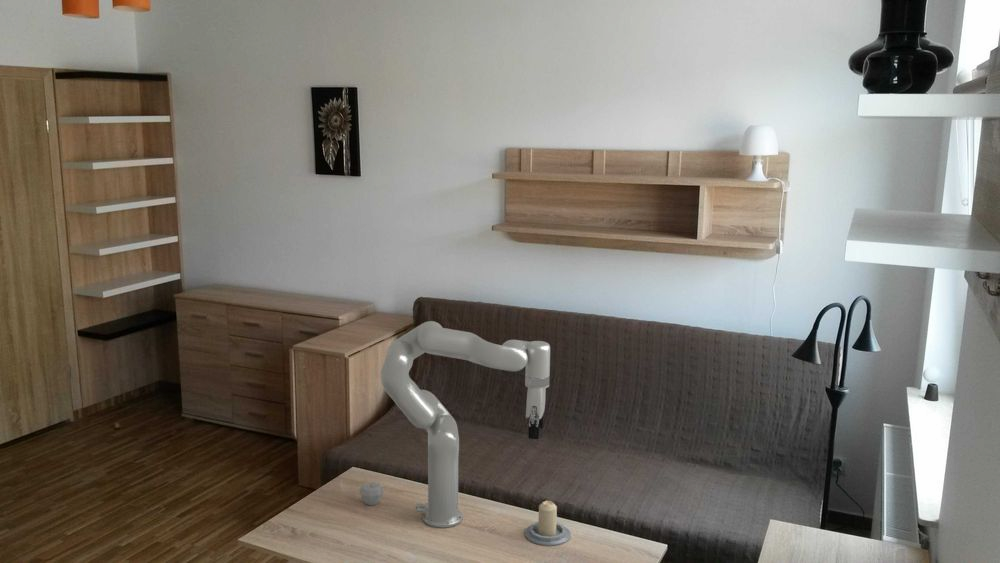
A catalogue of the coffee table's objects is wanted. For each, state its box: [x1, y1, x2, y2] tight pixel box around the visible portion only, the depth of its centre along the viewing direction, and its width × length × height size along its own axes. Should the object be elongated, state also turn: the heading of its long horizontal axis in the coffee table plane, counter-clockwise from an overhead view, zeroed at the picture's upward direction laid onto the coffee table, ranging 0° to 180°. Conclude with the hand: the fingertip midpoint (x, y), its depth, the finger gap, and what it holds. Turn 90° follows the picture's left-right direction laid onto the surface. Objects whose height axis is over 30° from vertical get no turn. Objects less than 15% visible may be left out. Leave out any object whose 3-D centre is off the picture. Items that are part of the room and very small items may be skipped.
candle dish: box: [524, 521, 571, 547], centre depth 254 cm, size 14×14×2 cm
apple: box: [359, 481, 384, 506], centre depth 274 cm, size 8×8×7 cm
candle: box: [537, 500, 558, 537], centre depth 254 cm, size 6×6×10 cm
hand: (535, 433), depth 261 cm, fingers open, 9 cm apart
